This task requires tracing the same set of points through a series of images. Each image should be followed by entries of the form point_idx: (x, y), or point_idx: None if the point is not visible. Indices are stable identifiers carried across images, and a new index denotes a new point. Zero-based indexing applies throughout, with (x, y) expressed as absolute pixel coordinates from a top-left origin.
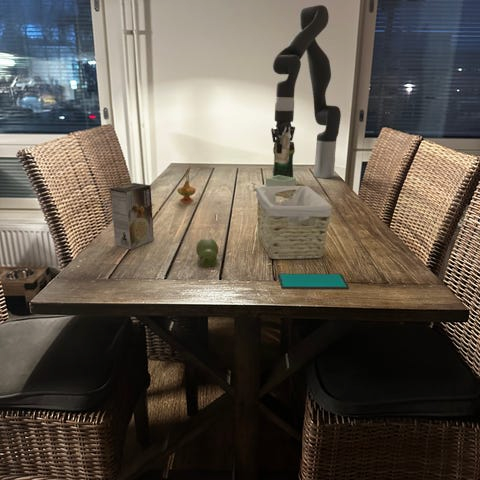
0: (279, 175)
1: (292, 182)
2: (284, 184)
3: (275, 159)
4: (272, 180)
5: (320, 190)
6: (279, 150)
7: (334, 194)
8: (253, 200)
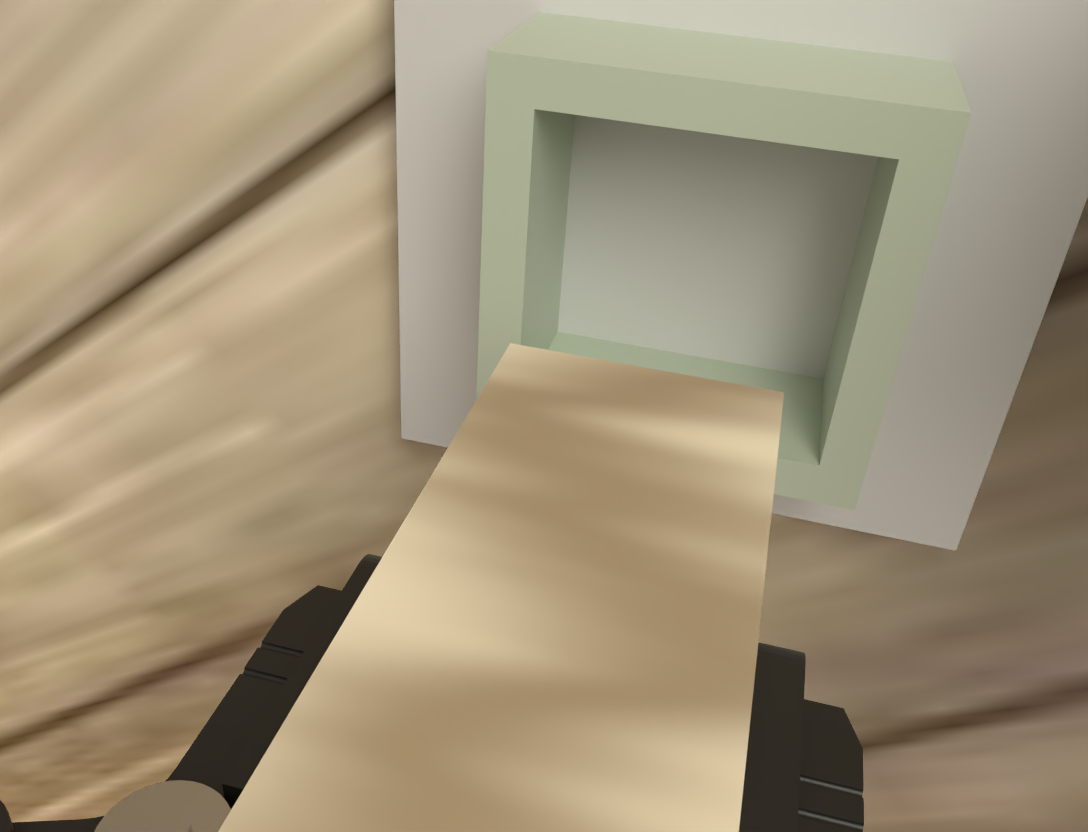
0: (934, 153)
1: None
2: None
3: (491, 388)
4: (489, 209)
5: (1054, 663)
6: None
7: (912, 810)
8: (5, 181)
